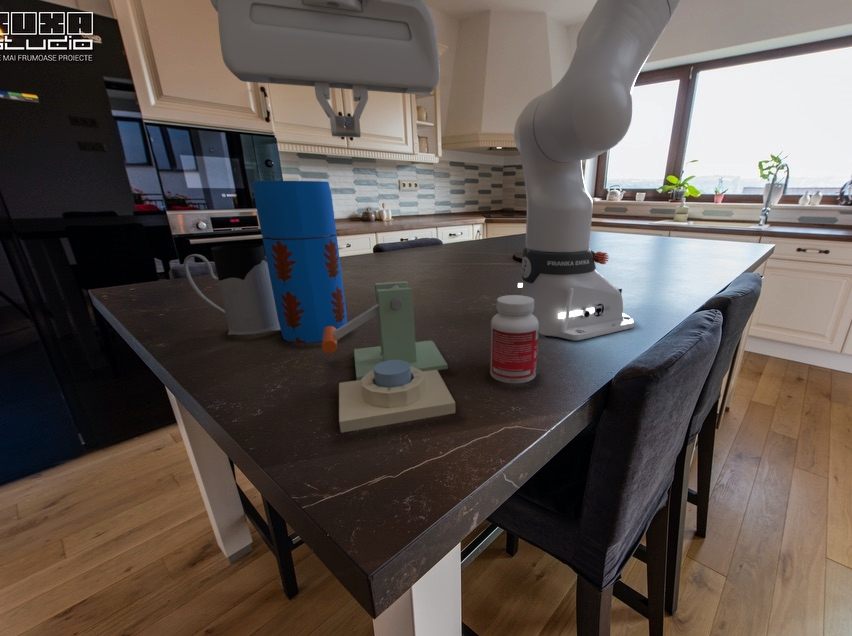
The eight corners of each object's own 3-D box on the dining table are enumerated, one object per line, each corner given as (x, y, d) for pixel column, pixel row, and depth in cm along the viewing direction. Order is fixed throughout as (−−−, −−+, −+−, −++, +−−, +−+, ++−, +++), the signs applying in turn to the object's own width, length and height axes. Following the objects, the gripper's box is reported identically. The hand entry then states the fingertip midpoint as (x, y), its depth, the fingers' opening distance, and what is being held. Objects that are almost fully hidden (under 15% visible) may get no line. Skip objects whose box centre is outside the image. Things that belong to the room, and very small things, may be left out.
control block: (437, 384, 52) (436, 356, 50) (455, 419, 44) (454, 387, 42) (341, 398, 48) (337, 369, 47) (341, 440, 40) (336, 405, 39)
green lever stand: (357, 387, 51) (346, 298, 47) (354, 358, 60) (345, 281, 56) (447, 374, 54) (445, 290, 50) (432, 348, 63) (429, 275, 59)
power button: (408, 371, 47) (407, 357, 46) (413, 386, 43) (413, 371, 43) (373, 376, 46) (372, 362, 45) (376, 391, 42) (375, 376, 42)
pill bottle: (542, 386, 51) (547, 304, 47) (496, 391, 50) (498, 307, 46) (526, 367, 57) (530, 292, 53) (485, 371, 55) (485, 294, 51)
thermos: (326, 350, 63) (301, 180, 54) (267, 345, 65) (233, 180, 56) (359, 328, 73) (342, 182, 64) (307, 324, 75) (283, 182, 66)
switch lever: (329, 357, 50) (317, 343, 49) (330, 341, 56) (319, 328, 55) (410, 306, 52) (400, 291, 50) (404, 295, 57) (394, 281, 56)
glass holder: (267, 340, 67) (248, 250, 61) (184, 340, 67) (158, 250, 62) (291, 324, 75) (276, 243, 70) (217, 323, 75) (197, 243, 70)
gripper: (188, -70, 31) (227, 127, 36) (441, -28, 37) (445, 136, 42) (211, -30, 37) (242, 136, 42) (427, 1, 43) (433, 143, 48)
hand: (346, 136), depth 42 cm, fingers closed
